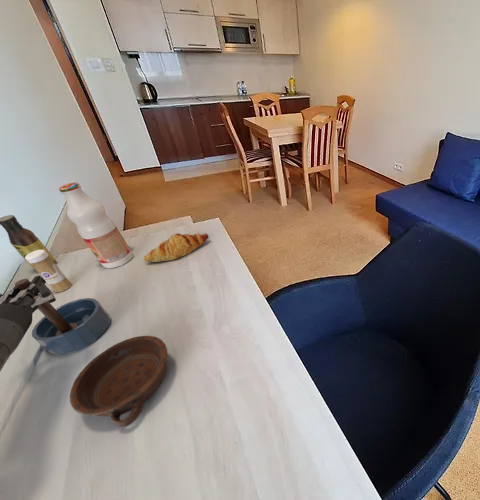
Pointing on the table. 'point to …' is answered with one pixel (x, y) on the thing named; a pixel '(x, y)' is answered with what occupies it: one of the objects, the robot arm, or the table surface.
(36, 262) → the sprinkles bottle
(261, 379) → the table surface
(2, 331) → the robot arm
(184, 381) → the table surface
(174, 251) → the croissant
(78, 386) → the dish
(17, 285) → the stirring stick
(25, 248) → the sauce bottle
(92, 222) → the fruit juice
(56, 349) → the bowl
